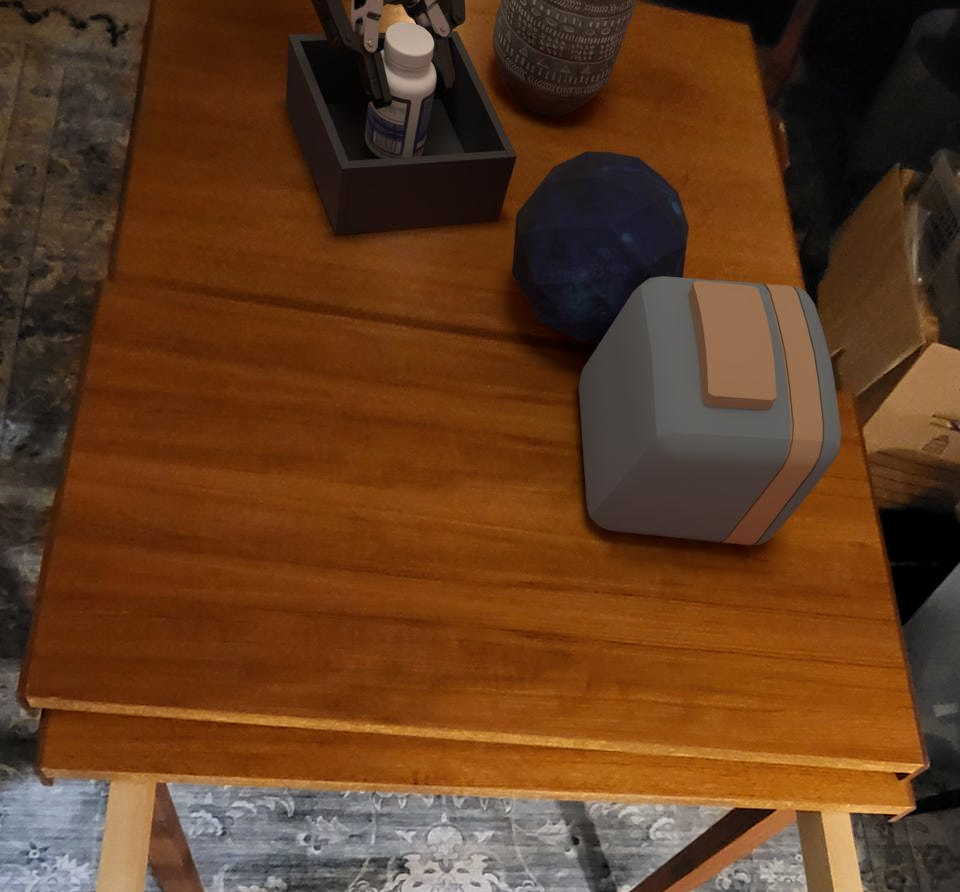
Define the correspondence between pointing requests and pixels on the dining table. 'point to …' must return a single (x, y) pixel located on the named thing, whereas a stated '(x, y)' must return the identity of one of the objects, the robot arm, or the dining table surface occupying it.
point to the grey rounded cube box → (708, 411)
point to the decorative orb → (596, 240)
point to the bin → (396, 181)
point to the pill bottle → (404, 94)
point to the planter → (558, 49)
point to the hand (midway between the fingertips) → (414, 99)
